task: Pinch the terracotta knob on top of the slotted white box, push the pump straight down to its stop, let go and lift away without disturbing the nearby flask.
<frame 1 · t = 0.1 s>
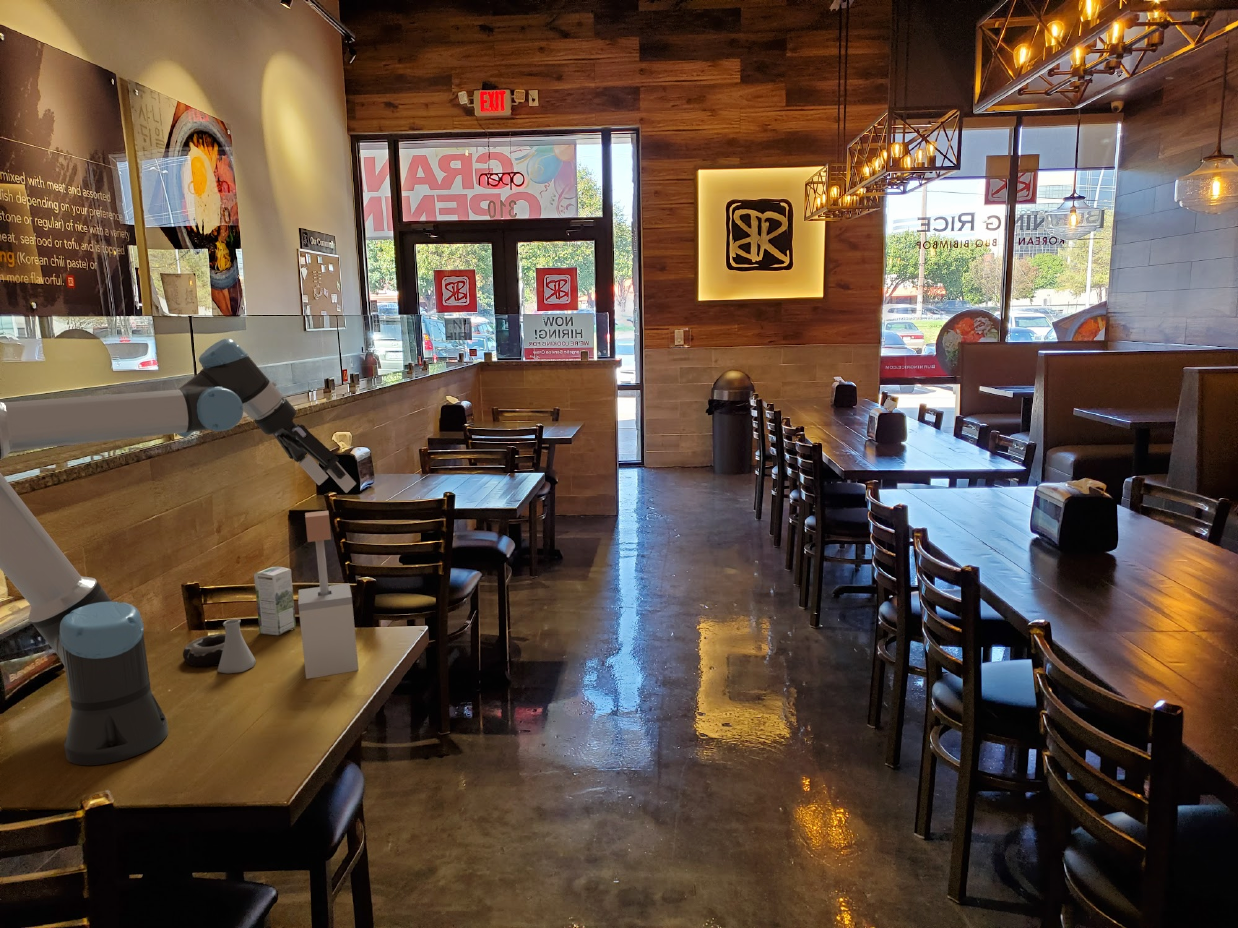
hand: (336, 484, 180), 36 cm above the table, tool tilted 35°, fingers open, 13 cm apart
slotted white box: (331, 665, 175), on the table
syrup box: (278, 631, 197), on the table
flask: (237, 668, 176), on the table
pump plunger: (321, 562, 172), point 22 cm above the table, slide at 0.0 cm
donut: (214, 659, 182), on the table
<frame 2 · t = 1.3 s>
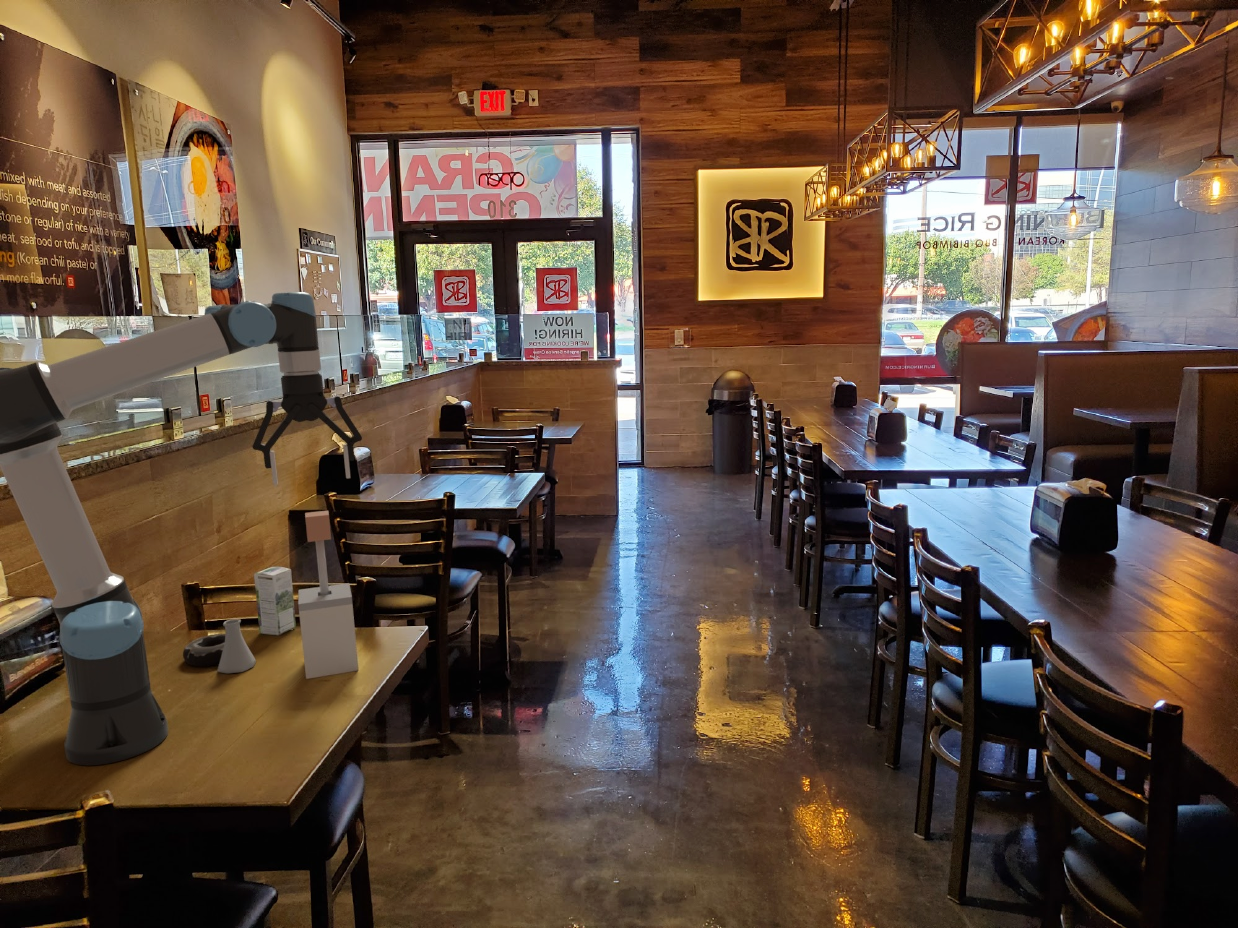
hand: (312, 480, 169), 39 cm above the table, tool pointing down, fingers open, 13 cm apart
nothing on the table moved.
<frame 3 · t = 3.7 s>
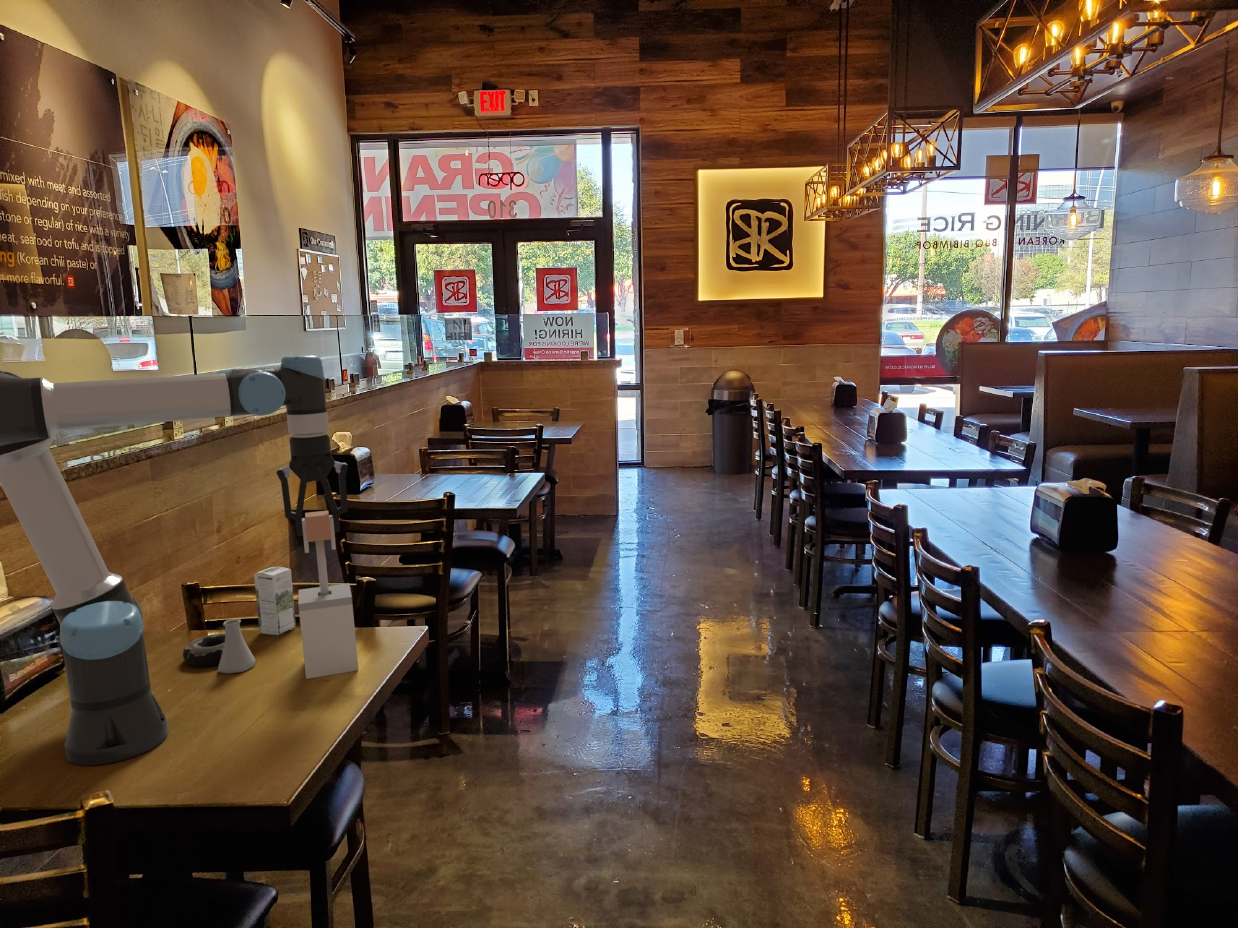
hand: (320, 549, 171), 25 cm above the table, tool pointing down, fingers closed on pump plunger, 4 cm apart
pump plunger: (321, 562, 172), point 22 cm above the table, slide at 0.0 cm, touching gripper
everything else where it was.
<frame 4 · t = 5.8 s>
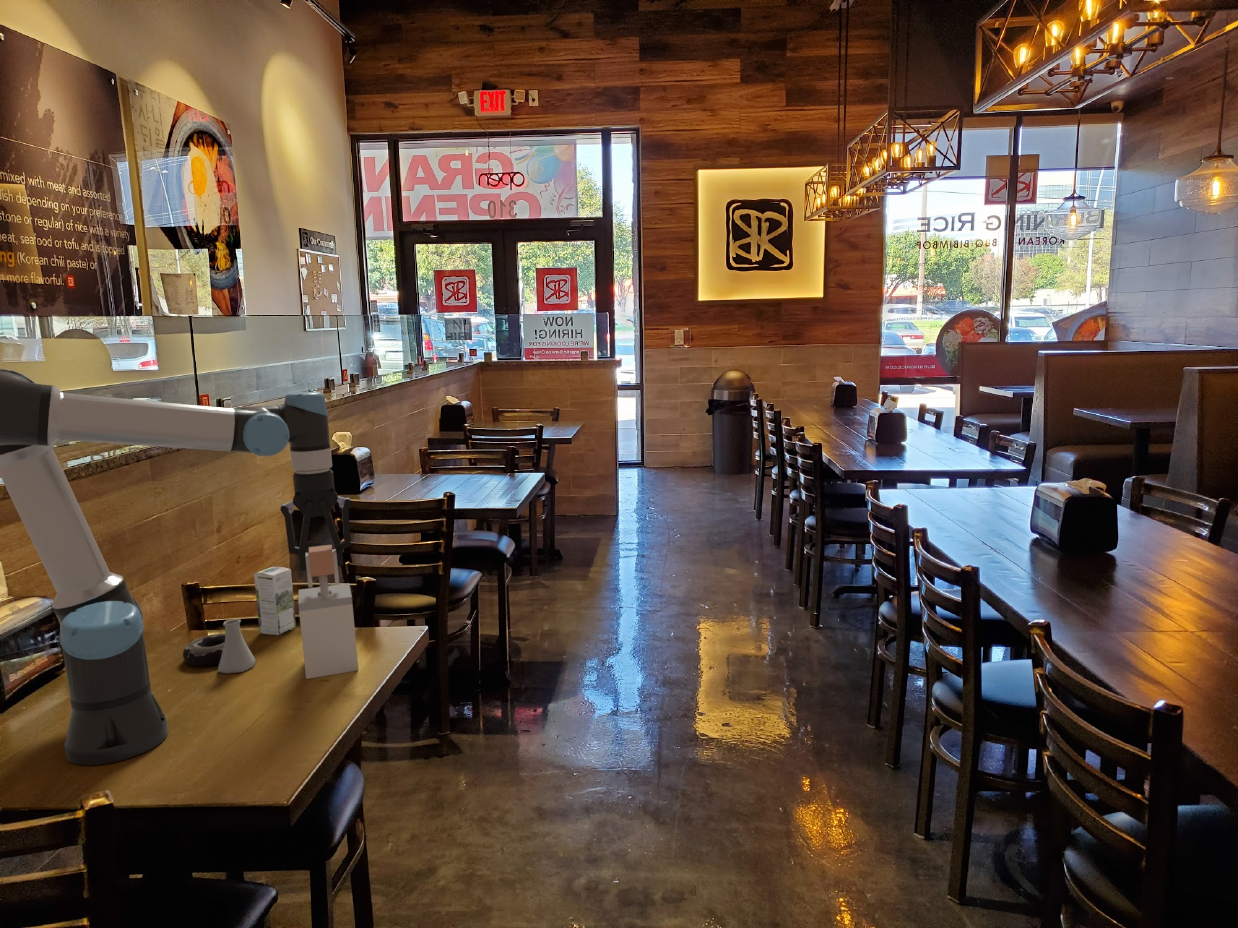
hand: (323, 583, 173), 18 cm above the table, tool pointing down, fingers closed on pump plunger, 4 cm apart
pump plunger: (325, 596, 173), point 15 cm above the table, slide at 7.1 cm, touching gripper
everything else where it was.
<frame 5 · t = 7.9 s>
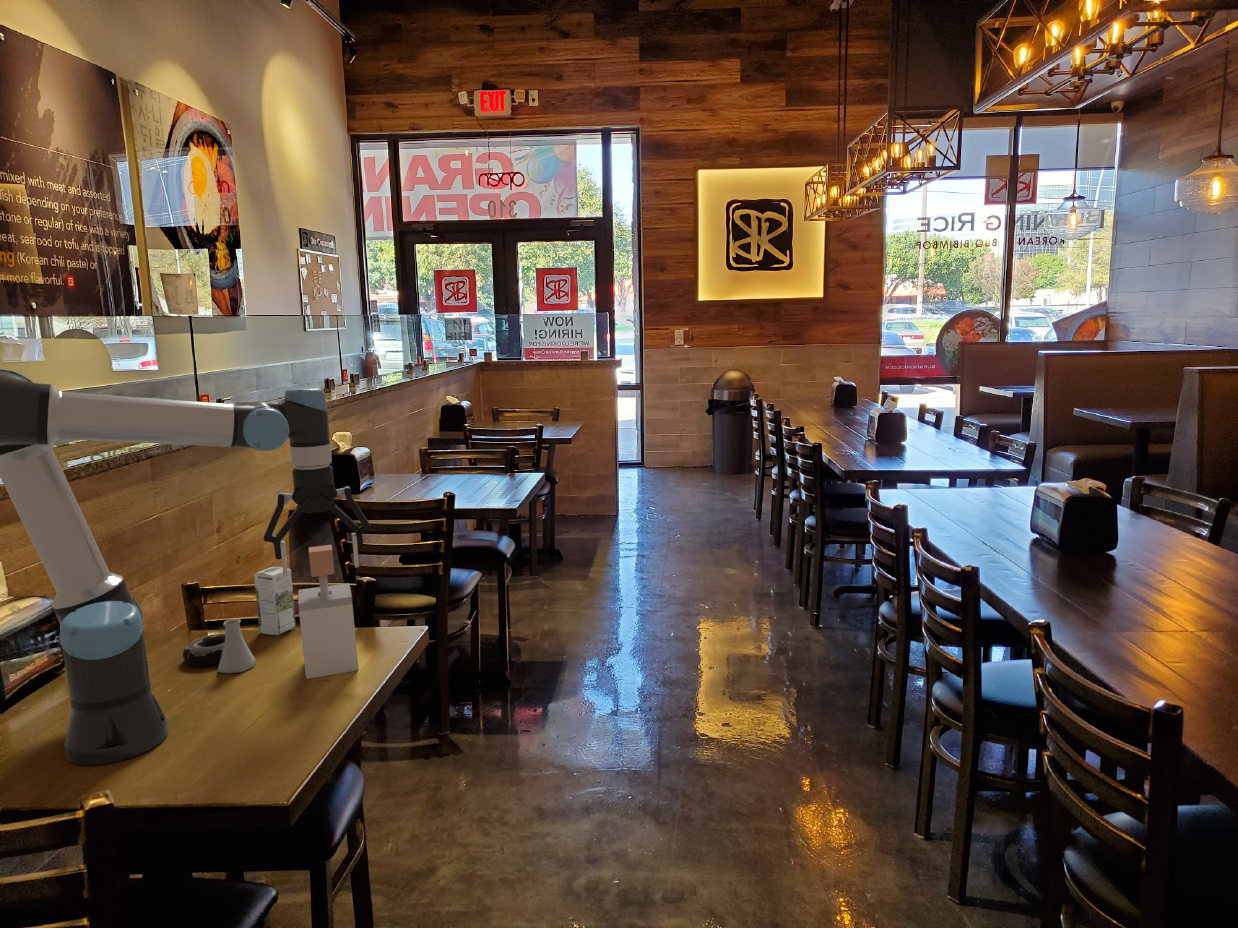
hand: (321, 570, 172), 20 cm above the table, tool pointing down, fingers open, 13 cm apart
pump plunger: (325, 596, 173), point 15 cm above the table, slide at 7.2 cm
everything else where it was.
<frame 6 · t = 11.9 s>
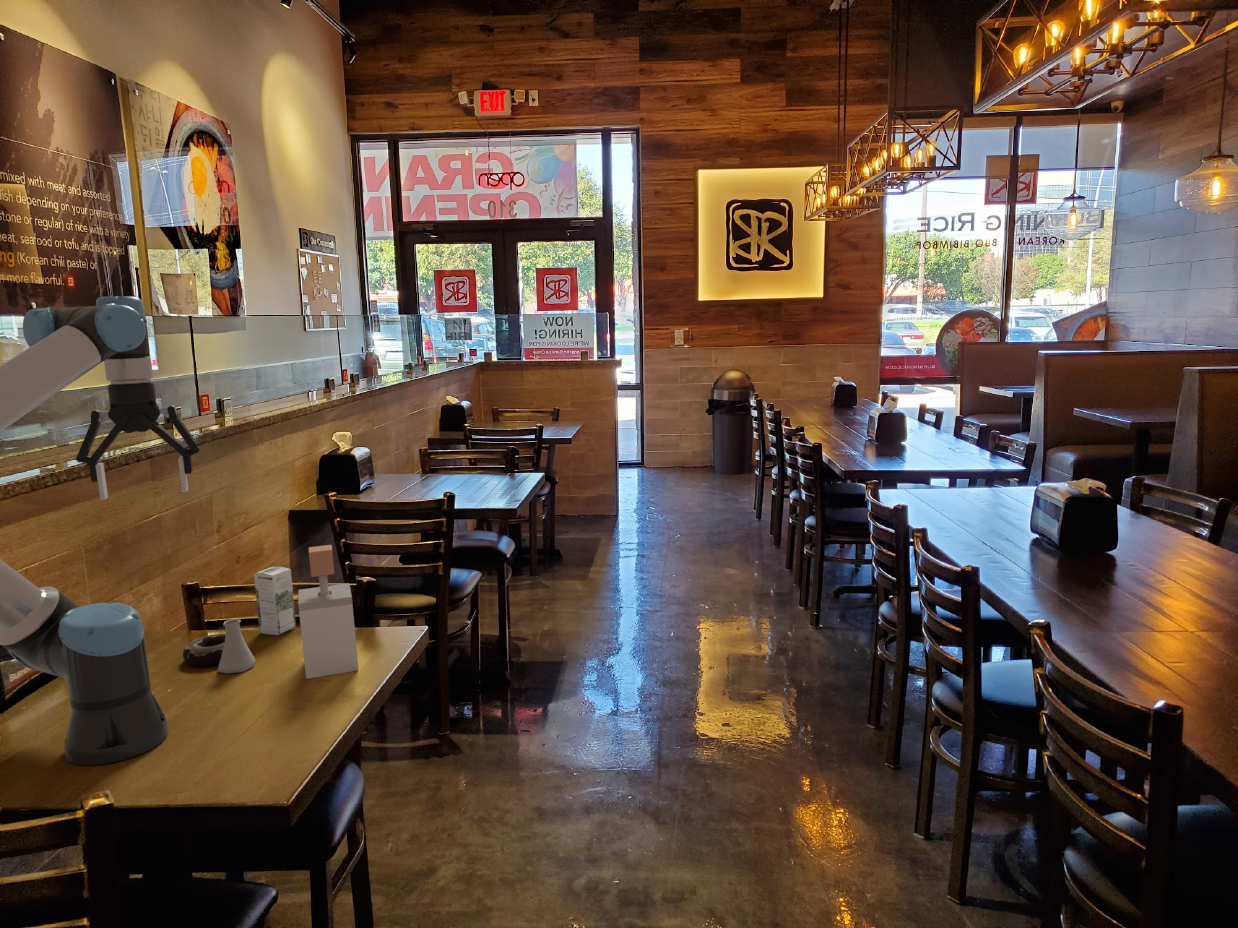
hand: (145, 494, 161), 39 cm above the table, tool pointing down, fingers open, 13 cm apart
nothing on the table moved.
at the end: pump plunger slide at 7.2 cm; the gripper is holding nothing; flask moved 0.3 cm from its start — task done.
